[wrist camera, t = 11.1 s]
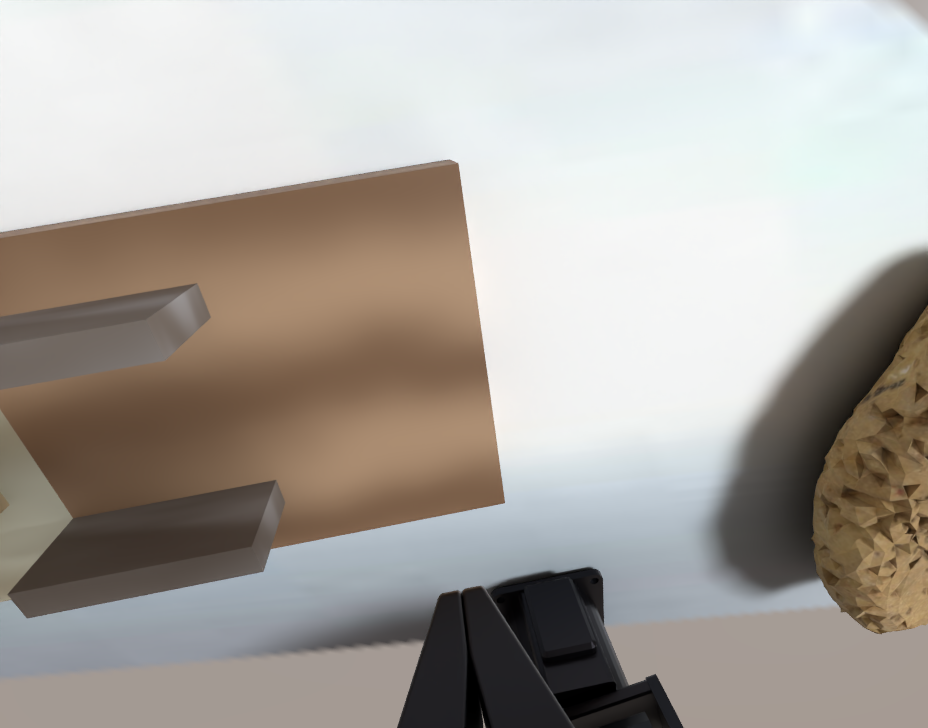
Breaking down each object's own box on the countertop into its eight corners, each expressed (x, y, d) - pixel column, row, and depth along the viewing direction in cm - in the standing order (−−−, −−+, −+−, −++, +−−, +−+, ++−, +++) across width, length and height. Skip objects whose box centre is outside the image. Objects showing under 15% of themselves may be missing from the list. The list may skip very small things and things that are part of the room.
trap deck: (493, 462, 24) (523, 567, 18) (-244, 603, 22) (-473, 768, 16) (449, 159, 18) (473, 169, 12) (-572, 325, 16) (-1123, 431, 10)
